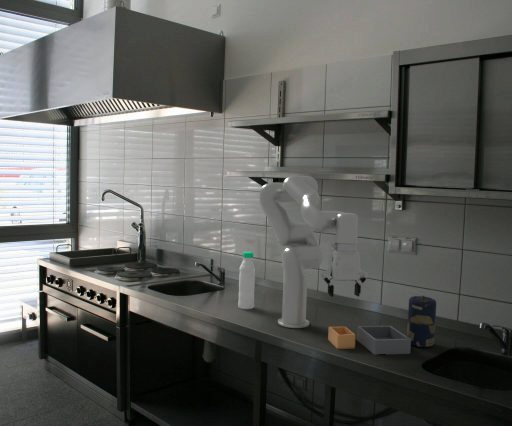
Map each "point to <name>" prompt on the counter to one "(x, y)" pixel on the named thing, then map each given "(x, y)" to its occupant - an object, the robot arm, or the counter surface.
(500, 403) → the counter surface
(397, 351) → the big crate
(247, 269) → the water bottle
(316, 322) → the counter surface
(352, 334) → the small crate
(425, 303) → the canister
